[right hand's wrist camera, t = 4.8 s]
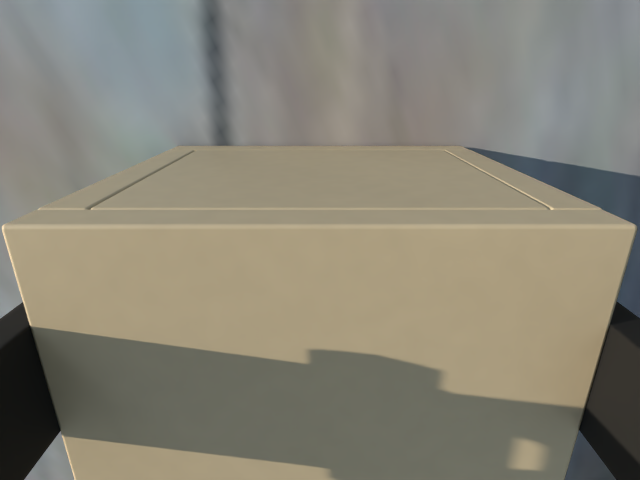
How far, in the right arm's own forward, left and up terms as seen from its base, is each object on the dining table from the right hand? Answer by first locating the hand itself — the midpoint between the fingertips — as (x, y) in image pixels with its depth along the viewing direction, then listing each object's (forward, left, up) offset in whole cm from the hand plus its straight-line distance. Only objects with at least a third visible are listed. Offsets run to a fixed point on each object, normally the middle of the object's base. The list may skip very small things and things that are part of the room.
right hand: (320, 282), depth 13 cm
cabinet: (+3, +6, -5) cm, 9 cm away
